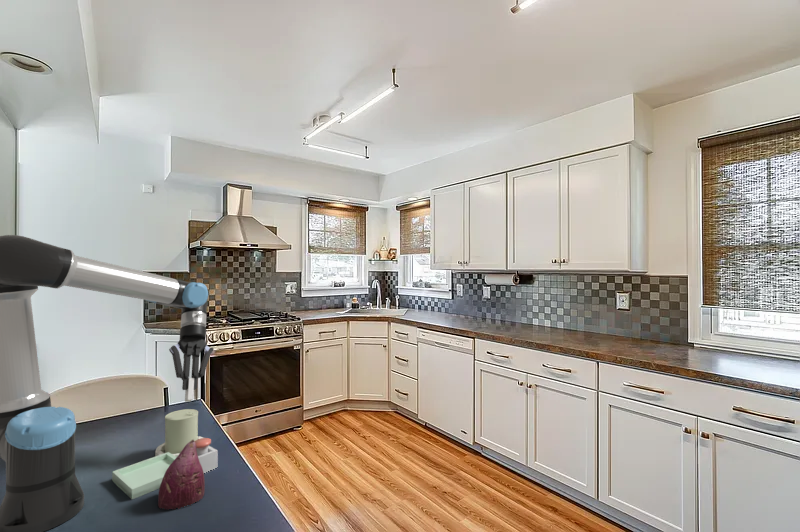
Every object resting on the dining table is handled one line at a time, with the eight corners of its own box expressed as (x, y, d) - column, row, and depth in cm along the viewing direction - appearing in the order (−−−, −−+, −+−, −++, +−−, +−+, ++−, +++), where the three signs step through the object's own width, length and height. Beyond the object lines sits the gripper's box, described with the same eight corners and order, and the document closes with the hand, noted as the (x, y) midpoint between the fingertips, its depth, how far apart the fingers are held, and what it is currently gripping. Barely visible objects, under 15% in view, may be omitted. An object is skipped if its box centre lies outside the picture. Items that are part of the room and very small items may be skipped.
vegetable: (192, 495, 103) (204, 434, 107) (210, 505, 96) (222, 439, 101) (148, 503, 95) (162, 436, 99) (165, 514, 89) (179, 442, 93)
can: (187, 458, 116) (188, 418, 116) (157, 458, 116) (157, 418, 116) (204, 444, 125) (204, 407, 125) (175, 444, 126) (176, 407, 126)
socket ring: (167, 466, 111) (167, 460, 111) (148, 453, 120) (148, 447, 120) (214, 449, 122) (214, 443, 122) (193, 437, 130) (193, 432, 130)
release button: (197, 469, 107) (197, 446, 107) (189, 464, 110) (189, 442, 110) (214, 462, 110) (214, 440, 111) (206, 458, 113) (206, 436, 113)
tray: (132, 499, 95) (132, 489, 95) (112, 480, 104) (112, 471, 104) (190, 475, 107) (190, 466, 107) (168, 460, 115) (168, 451, 115)
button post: (196, 477, 106) (196, 458, 106) (185, 470, 109) (186, 452, 109) (217, 468, 111) (217, 450, 111) (207, 461, 114) (207, 444, 114)
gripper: (175, 321, 122) (169, 398, 112) (218, 325, 131) (215, 397, 121) (167, 329, 127) (161, 404, 116) (209, 332, 136) (206, 402, 125)
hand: (188, 400), depth 118 cm, fingers closed
